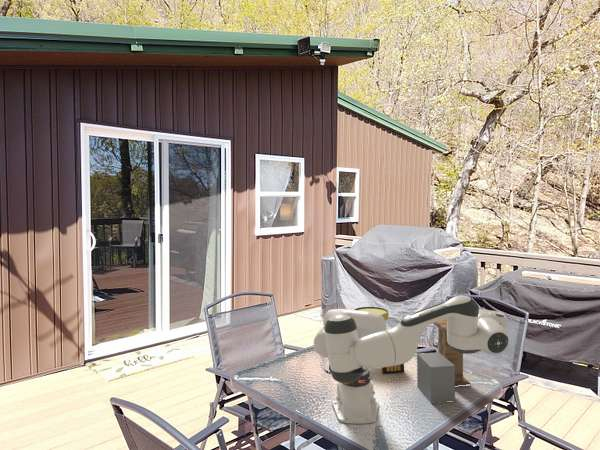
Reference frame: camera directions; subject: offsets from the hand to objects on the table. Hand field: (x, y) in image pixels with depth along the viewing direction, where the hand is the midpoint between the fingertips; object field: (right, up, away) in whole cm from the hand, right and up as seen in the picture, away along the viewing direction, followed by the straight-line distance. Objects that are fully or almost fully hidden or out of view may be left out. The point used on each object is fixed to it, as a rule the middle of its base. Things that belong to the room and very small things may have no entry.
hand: (468, 307), depth 171 cm
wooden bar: (+5, -14, +29) cm, 33 cm away
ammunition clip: (-19, -40, +47) cm, 64 cm away
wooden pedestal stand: (+5, -39, +36) cm, 53 cm away
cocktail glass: (-26, -39, +67) cm, 81 cm away
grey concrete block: (-6, -41, +22) cm, 47 cm away
